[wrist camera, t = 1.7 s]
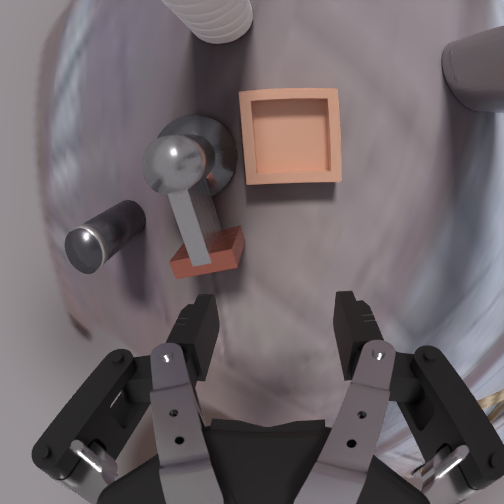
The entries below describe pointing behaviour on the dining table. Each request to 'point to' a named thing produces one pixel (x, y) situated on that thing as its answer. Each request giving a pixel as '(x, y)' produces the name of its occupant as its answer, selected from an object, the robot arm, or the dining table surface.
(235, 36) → the water bottle
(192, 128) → the base
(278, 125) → the tray
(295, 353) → the dining table surface
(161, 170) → the crank
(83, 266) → the peg
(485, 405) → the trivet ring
